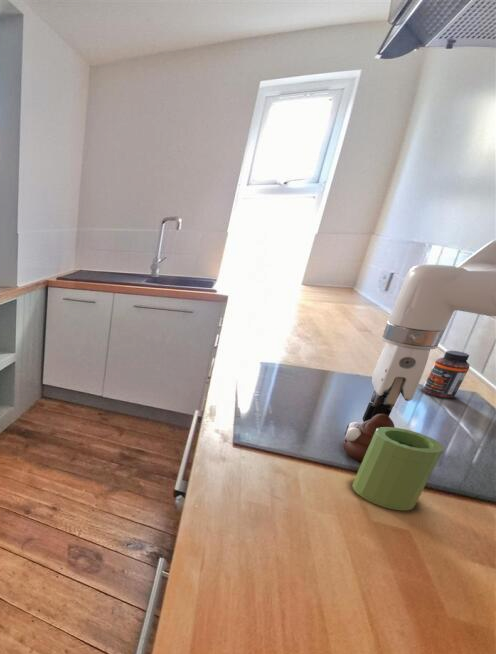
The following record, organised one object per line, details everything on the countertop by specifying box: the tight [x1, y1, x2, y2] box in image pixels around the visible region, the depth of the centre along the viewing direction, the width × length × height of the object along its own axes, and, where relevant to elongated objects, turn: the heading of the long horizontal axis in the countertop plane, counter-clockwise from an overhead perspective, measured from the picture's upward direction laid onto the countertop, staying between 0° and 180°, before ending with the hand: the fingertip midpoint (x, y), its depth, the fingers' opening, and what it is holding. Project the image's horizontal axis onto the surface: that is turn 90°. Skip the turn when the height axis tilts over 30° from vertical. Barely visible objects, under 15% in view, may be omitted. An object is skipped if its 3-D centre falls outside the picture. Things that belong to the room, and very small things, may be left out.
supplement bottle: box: [422, 350, 471, 399], centre depth 104 cm, size 6×6×11 cm
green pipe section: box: [352, 426, 445, 512], centre depth 67 cm, size 8×8×11 cm
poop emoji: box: [343, 414, 396, 463], centre depth 79 cm, size 10×8×9 cm
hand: (372, 423), depth 82 cm, fingers closed
